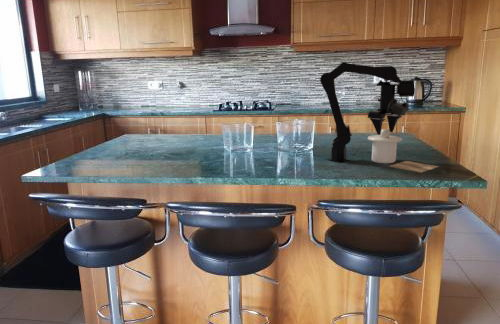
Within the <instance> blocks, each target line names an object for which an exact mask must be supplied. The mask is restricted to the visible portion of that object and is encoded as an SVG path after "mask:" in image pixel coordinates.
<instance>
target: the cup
mask: <svg viewBox="0 0 500 324" xmlns="http://www.w3.org/2000/svg"><path fill="white" fill-rule="evenodd" d="M371 142H372V144H371V145H372V147H371V161H372V162H374V163H378V164H392V163H395V162H396V161H397V146H398V145H397V144H398V142H393V143H384V142H374V141H371Z"/></svg>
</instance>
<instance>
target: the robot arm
mask: <svg viewBox="0 0 500 324" xmlns="http://www.w3.org/2000/svg"><path fill="white" fill-rule="evenodd" d="M343 73H353V74H360V75H366V76H373V77H376V78H380V80H379V81H378V82H377V83H376V84H375V85H376V86H377V87H380V98H378V99H377V102H379V108H377V109H376V110H370V111H368V112H367V118H368V119H369V120H370V121H371V124H373V126H374V130H375V132H376V135H381V129H383V128H382V127H383V123H384V122H385V121H386V118H387V123H388V128H389V130H390V133H393V132H394V129H395V127H396V124H397V123H398V120H399V119H401V118H402V117H403V116H405V115H406V113H407V112H409V103H407V102H403V103H398V99H397V98H395V97H396V95H398V97H400V98H401V97H402V98H403V97H404V98H405V97H409V98H410V97H415V91H416V87H415V79H409V80H401V78H400V77H399V75H398V72H397V69H396V67H394V66H392V65H391V66H390V65H388V66H387V65H386V66H385V65H383V66H371V65H365V64H364V65H363V64H357V63H356V64H355V63H348V62H344V61H343V62H341V63H340V64H339V65H338V66H337V67H335V68H333V69H332V70H331V71H329V72H325V73H322V74H321V75H320V77H319V78H320V79H319V82H320V84H321V86H322V89H323V90H324V93H325V94H326V96H327V99H328V102H329V106H330V109H331V113H332V116H333V120H334V123H335V129H336V137H335V138H334V139H333V140H332V144H331V145H332V146H331V153H330V154H331V157H330V158H328V160H329V161H331V162H337V163H343V162H346V161H349V158H347V145H348V144H350V142H351V139H352V132H351V129H350V124H348V125H346V122H345V121H344V118H343V114H342V110H341V106H340V104H339V100H338V96H337V93H336V83H335V82H336V81H335V80H336V79H337V78H338V77H340V76H341V75H342V74H343ZM381 79H382V80H381ZM383 80H386V81H383ZM391 82H392V83H391Z"/></svg>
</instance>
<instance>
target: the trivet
mask: <svg viewBox="0 0 500 324" xmlns="http://www.w3.org/2000/svg"><path fill="white" fill-rule="evenodd" d="M389 167H390V168H395V169H401V170H405V171H410V172H415V173H418V174H421V173H424V172H428V171H431V170H433V169H436V168H439V165H438V166H437V165H432V164H427V163H421V162H415V161H411V160H410V161H409V160H404V161H401V162H399V163H398V162H397V163H394V164H391V165H389Z"/></svg>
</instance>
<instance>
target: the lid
mask: <svg viewBox="0 0 500 324" xmlns="http://www.w3.org/2000/svg"><path fill="white" fill-rule="evenodd" d="M367 140H368V141H371V142H373V141H374V142H384V143H393V142H397V143H400V142H402V141H403V138H402V137H401V136H397V135H391V132H390V130H389V129H388V128H381V134H380V135H378V134H374V135H369V136H367Z"/></svg>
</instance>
